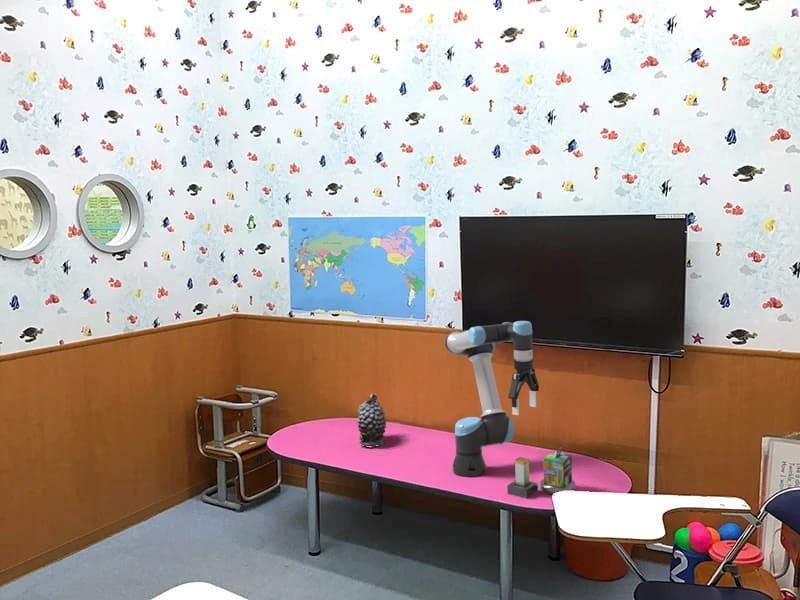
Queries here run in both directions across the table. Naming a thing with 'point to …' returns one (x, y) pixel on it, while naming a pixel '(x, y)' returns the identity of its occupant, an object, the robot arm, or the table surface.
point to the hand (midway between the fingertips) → (524, 410)
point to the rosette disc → (553, 489)
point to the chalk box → (558, 469)
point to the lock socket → (522, 489)
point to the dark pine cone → (371, 422)
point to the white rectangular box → (522, 471)
